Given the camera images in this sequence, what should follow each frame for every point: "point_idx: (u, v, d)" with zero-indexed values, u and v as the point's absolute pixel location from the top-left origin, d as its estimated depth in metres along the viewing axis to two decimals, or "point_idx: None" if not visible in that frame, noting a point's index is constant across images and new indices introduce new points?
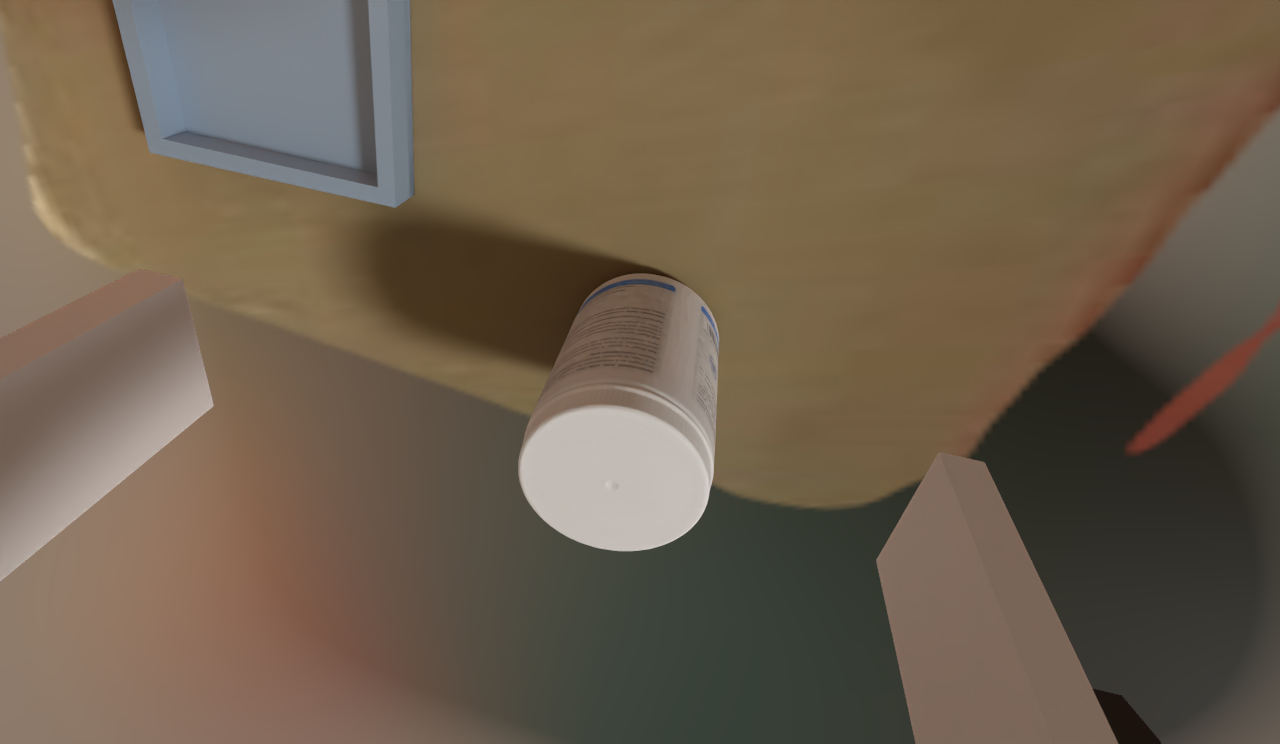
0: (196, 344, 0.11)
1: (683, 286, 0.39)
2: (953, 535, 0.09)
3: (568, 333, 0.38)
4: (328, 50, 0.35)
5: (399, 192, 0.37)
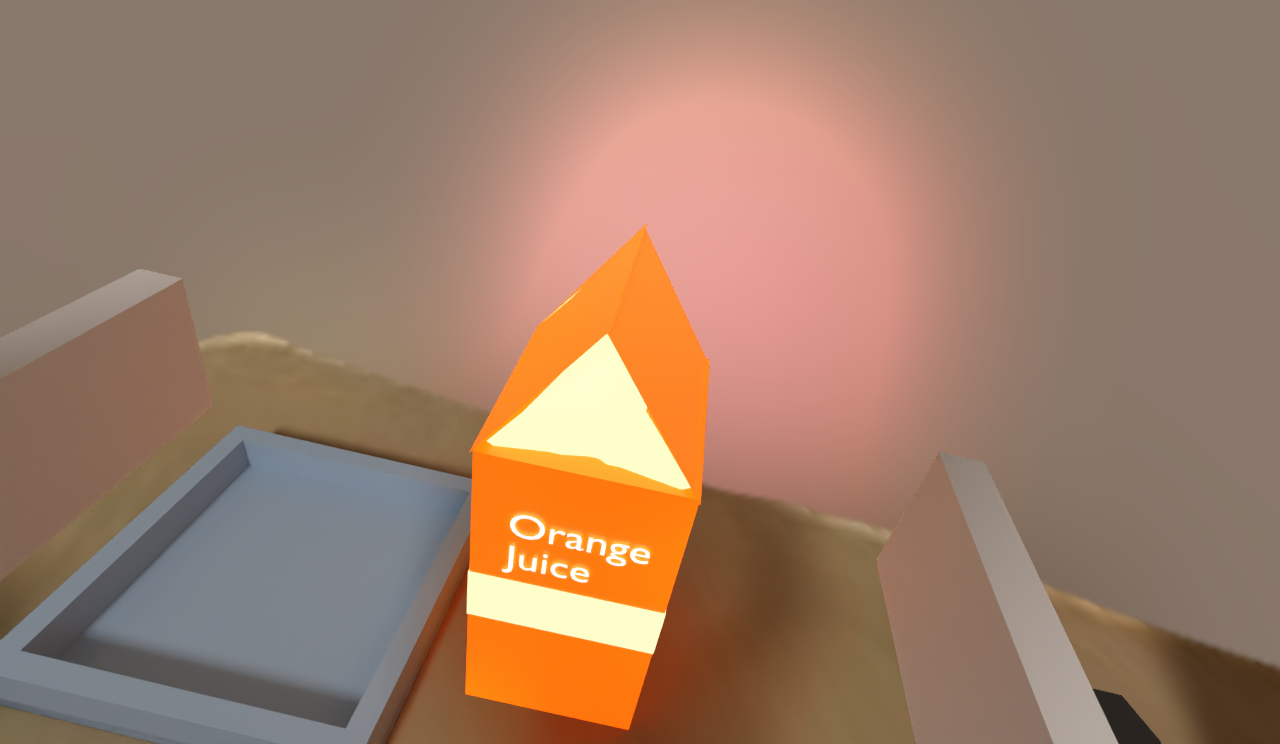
0: (196, 344, 0.11)
1: None
2: (953, 535, 0.09)
3: None
4: (245, 638, 0.28)
5: None
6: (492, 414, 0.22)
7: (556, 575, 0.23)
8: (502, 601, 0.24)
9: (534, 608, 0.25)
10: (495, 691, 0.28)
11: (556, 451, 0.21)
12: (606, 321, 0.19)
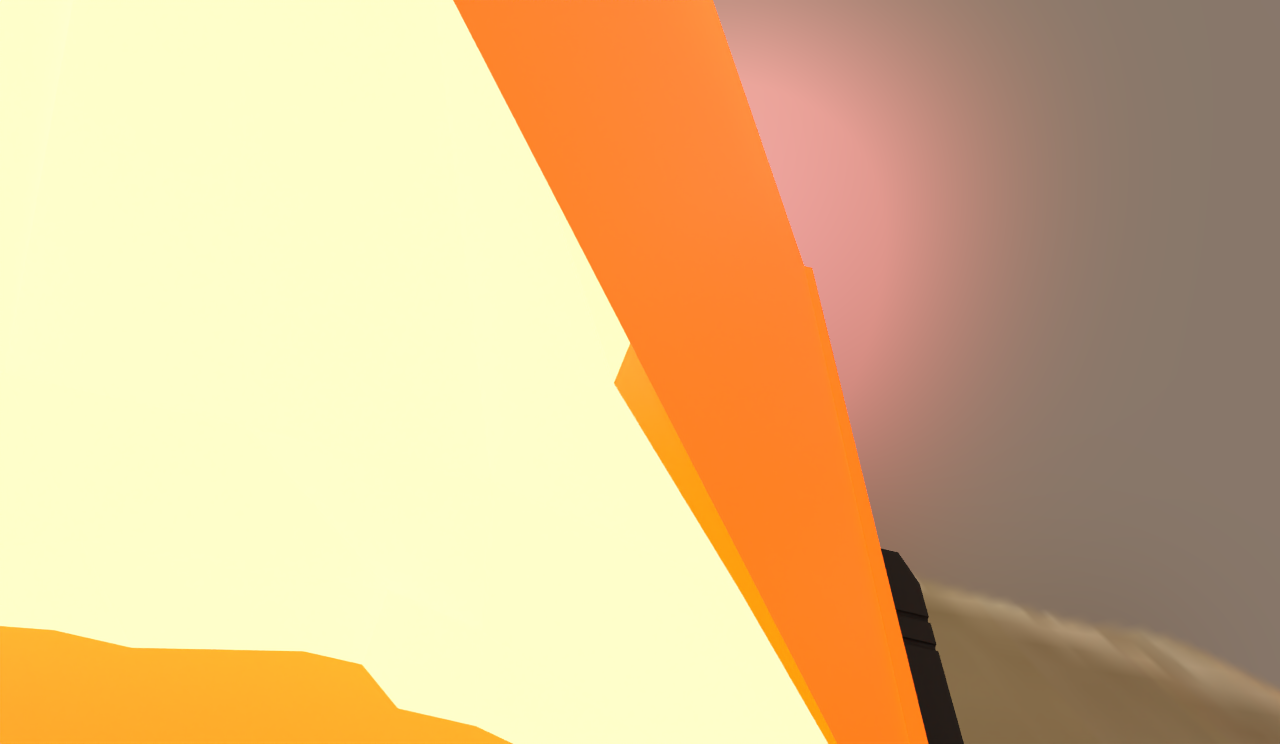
0: None
1: None
2: None
3: None
4: None
5: None
6: None
7: None
8: None
9: None
10: None
11: (100, 632, 0.04)
12: None
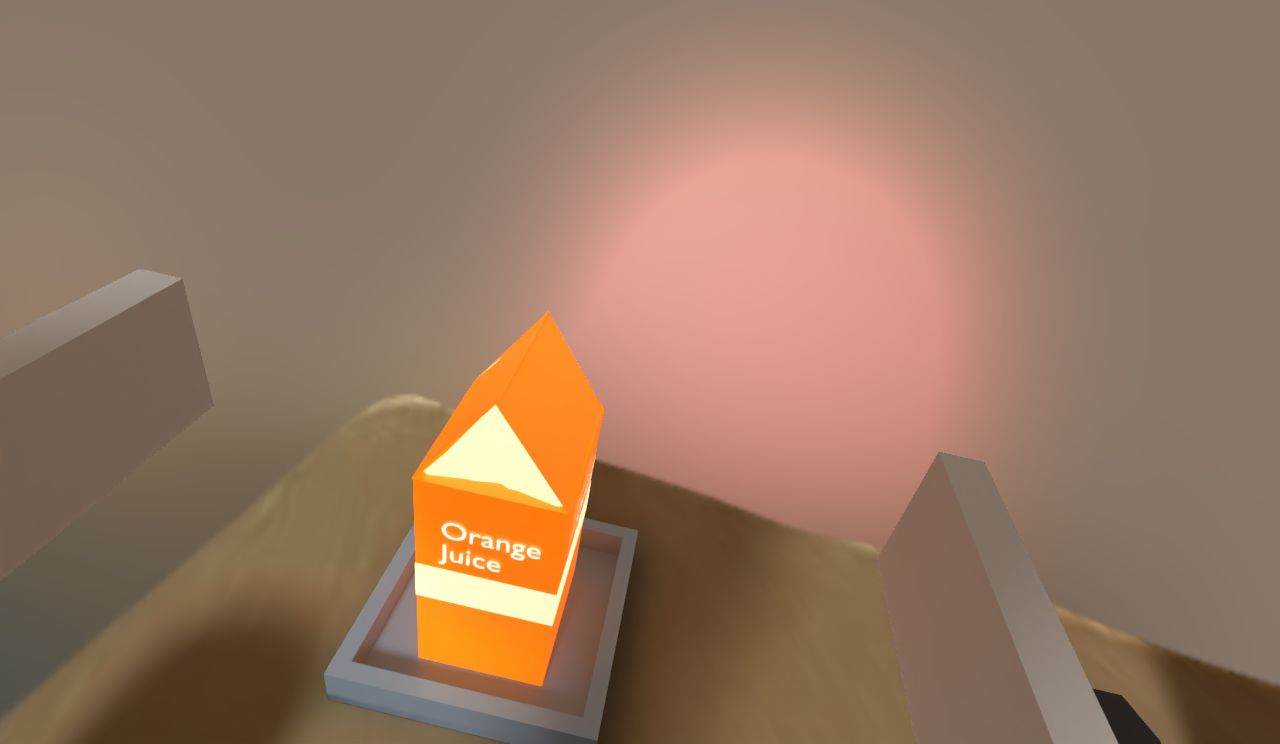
0: (195, 344, 0.11)
1: None
2: (953, 535, 0.09)
3: None
4: None
5: (337, 683, 0.34)
6: (430, 451, 0.31)
7: (477, 566, 0.32)
8: (440, 585, 0.34)
9: (464, 591, 0.34)
10: (440, 655, 0.37)
11: (472, 478, 0.30)
12: (499, 394, 0.28)
